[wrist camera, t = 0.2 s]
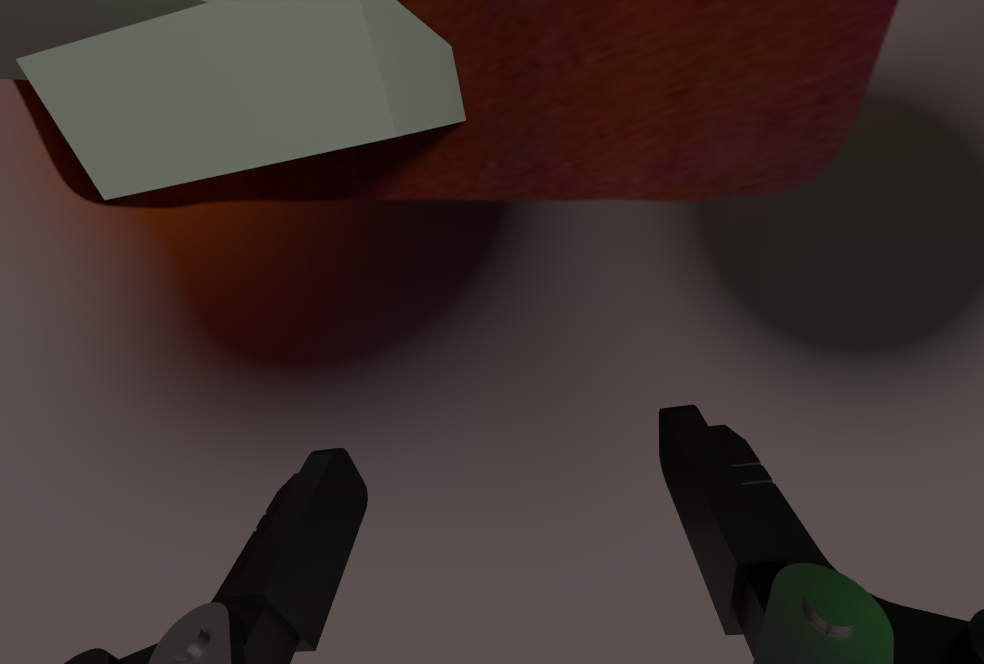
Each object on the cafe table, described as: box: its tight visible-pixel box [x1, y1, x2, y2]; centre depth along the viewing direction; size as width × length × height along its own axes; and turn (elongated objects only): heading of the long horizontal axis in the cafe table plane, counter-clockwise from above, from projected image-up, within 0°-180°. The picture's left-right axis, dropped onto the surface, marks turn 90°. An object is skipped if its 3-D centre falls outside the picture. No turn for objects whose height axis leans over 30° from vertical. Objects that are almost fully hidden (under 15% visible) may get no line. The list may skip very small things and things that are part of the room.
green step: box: [16, 0, 466, 200], centre depth 23 cm, size 5×13×20 cm, turn 101°
